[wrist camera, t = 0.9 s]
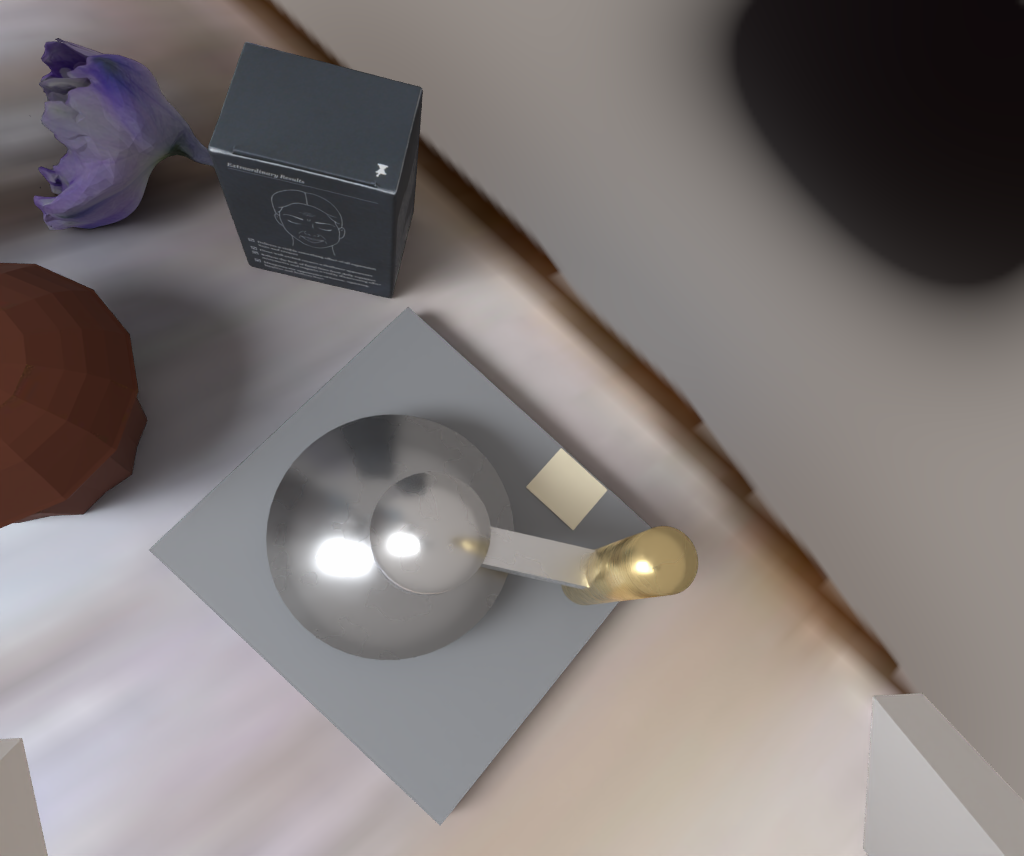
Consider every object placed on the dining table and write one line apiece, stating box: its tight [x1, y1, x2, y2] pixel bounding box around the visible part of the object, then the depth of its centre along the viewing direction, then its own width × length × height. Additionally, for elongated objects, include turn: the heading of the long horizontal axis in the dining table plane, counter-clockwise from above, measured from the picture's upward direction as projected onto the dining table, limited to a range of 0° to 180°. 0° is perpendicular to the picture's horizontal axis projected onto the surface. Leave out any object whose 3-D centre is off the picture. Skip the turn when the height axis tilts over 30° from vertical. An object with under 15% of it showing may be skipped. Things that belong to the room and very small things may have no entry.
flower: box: [29, 38, 214, 230], centre depth 38 cm, size 9×9×10 cm
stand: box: [149, 307, 651, 825], centre depth 38 cm, size 18×17×2 cm
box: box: [208, 42, 423, 298], centre depth 37 cm, size 8×6×11 cm
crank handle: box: [266, 414, 698, 660], centre depth 32 cm, size 16×11×11 cm
